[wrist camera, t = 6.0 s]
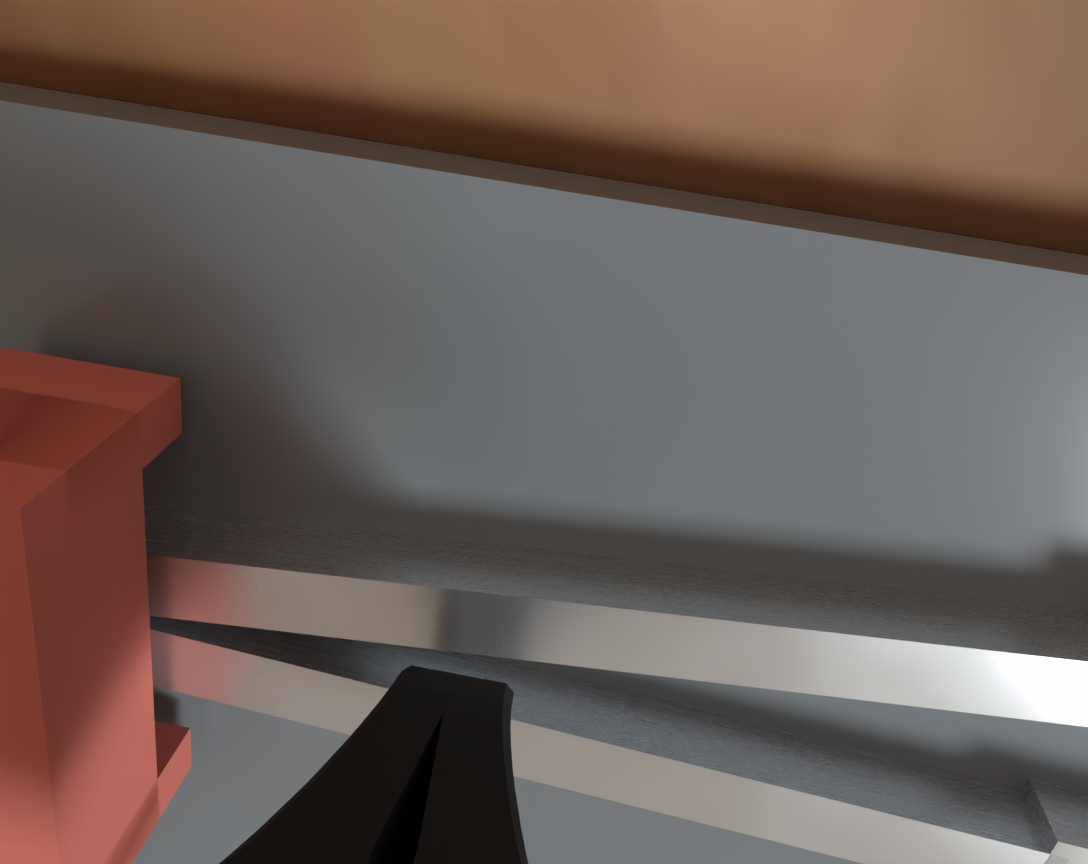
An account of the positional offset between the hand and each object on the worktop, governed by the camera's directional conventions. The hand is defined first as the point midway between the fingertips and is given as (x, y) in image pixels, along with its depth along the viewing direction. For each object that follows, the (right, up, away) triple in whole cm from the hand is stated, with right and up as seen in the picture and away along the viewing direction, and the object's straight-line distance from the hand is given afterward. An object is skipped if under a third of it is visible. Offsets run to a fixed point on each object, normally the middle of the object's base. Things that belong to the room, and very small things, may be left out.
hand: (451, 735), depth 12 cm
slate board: (0, +1, +3) cm, 4 cm away
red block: (-5, +2, +2) cm, 6 cm away
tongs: (0, +1, +2) cm, 2 cm away
